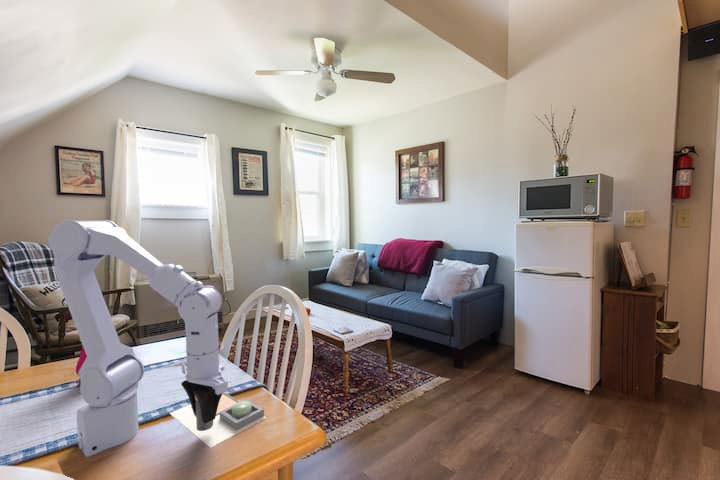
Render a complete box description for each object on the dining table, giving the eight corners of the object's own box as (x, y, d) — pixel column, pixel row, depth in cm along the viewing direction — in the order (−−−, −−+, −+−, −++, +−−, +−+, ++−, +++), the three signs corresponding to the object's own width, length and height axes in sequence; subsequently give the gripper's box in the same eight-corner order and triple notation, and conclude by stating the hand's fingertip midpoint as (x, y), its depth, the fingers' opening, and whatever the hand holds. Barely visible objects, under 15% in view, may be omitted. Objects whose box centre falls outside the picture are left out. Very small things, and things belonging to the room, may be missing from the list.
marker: (200, 433, 65) (199, 397, 64) (193, 426, 67) (191, 392, 66) (216, 425, 67) (215, 391, 67) (208, 419, 69) (207, 386, 69)
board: (208, 456, 62) (208, 443, 62) (164, 417, 75) (163, 406, 75) (271, 421, 73) (271, 410, 73) (223, 392, 86) (223, 383, 86)
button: (238, 420, 70) (238, 413, 70) (228, 414, 73) (228, 406, 73) (255, 412, 74) (255, 405, 73) (245, 406, 76) (244, 399, 76)
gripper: (241, 352, 65) (243, 421, 65) (204, 336, 74) (206, 396, 75) (205, 365, 59) (207, 439, 60) (170, 345, 68) (172, 411, 69)
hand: (204, 417), depth 67 cm, fingers closed on marker, 3 cm apart
